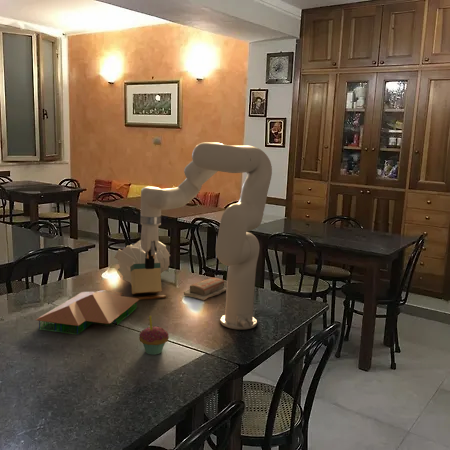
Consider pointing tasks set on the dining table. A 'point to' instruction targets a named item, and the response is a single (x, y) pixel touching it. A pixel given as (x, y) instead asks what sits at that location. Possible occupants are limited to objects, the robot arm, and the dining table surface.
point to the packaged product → (206, 288)
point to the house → (89, 310)
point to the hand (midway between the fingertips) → (149, 268)
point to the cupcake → (153, 338)
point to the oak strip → (150, 297)
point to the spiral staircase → (140, 258)
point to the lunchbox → (145, 279)
